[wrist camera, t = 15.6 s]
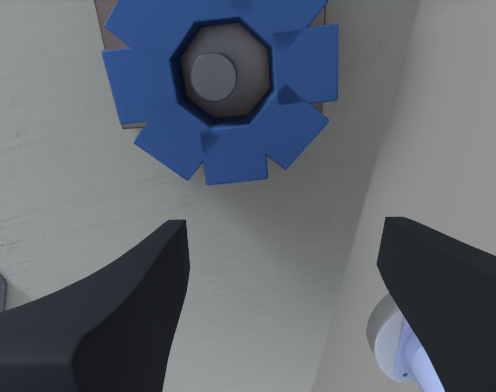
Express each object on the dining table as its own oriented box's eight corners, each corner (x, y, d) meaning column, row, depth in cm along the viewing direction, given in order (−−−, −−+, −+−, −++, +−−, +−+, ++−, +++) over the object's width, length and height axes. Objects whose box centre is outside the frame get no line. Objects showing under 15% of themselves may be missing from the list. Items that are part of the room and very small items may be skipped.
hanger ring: (321, -58, 14) (339, -82, 12) (323, 155, 19) (337, 172, 16) (102, -32, 15) (73, -50, 12) (151, 174, 19) (137, 193, 16)
